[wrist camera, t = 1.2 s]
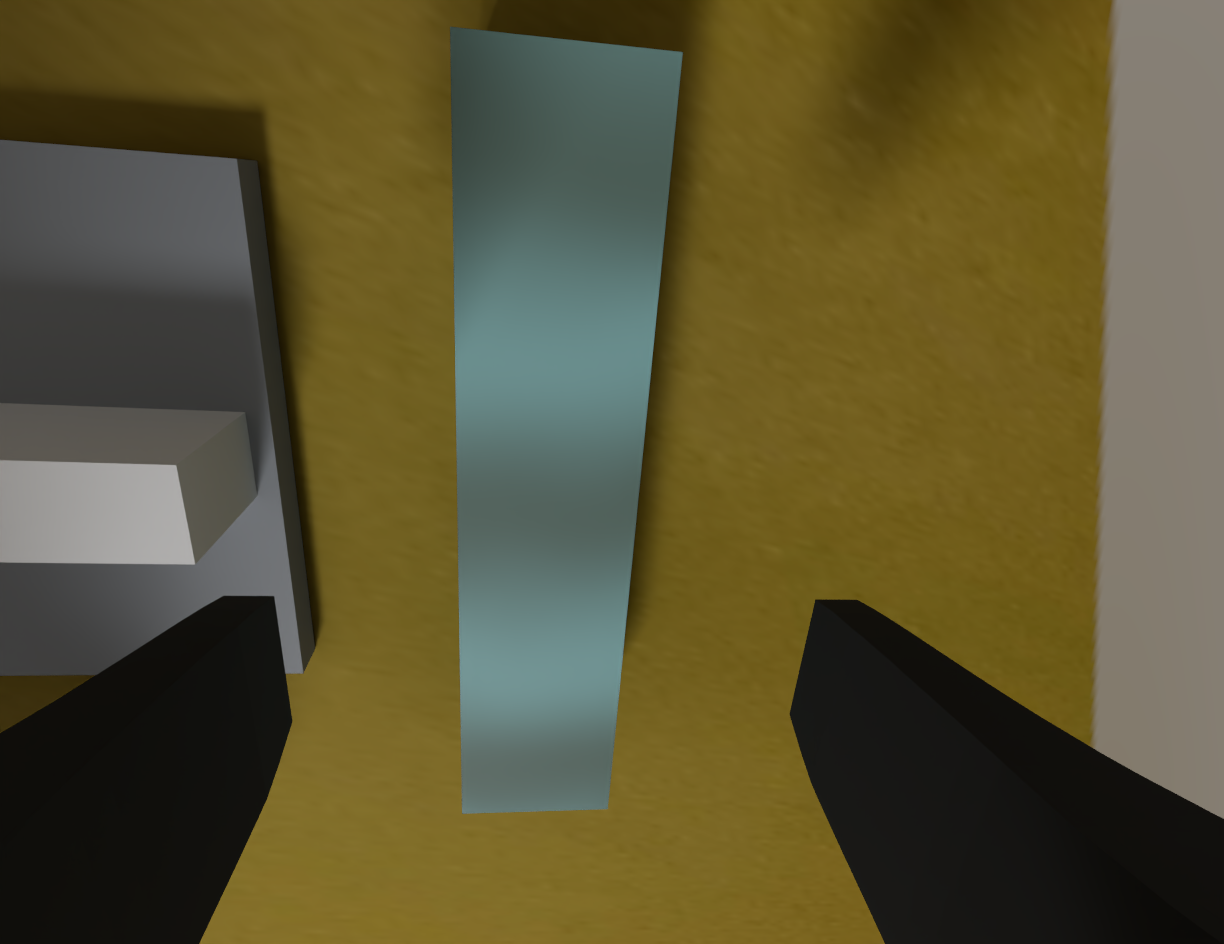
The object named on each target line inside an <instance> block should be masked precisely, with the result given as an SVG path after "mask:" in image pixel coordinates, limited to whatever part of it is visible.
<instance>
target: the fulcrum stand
mask: <svg viewBox="0 0 1224 944" xmlns="http://www.w3.org/2000/svg"><path fill="white" fill-rule="evenodd" d="M222 596H274V598H275V605H276V612H277V619H278V626H279V633H280V639H281V646H282V653H283V660H284V667H285V673H304V671H305V669H306V667H307V665H308V662H309V660H310V658H311V656H312V654H313V652H314V650H315V643H314V635H313V626H312V618H311V609H310V601H309V592H308V584H307V576H306V567H305V559H304V550H303V542H302V533H301V525H300V517H299V508H298V500H297V491H296V483H295V474H294V466H293V458H292V449H291V441H290V432H289V424H288V415H287V407H286V399H285V390H284V382H283V373H282V365H281V356H280V348H279V340H278V331H277V323H276V314H275V306H274V297H273V289H272V281H271V272H270V264H269V255H268V247H267V238H266V230H265V222H264V213H263V205H262V196H261V188H260V179H259V171H258V163H257V161H255V160H244V159H233V158H221V157H208V156H196V155H183V154H171V153H159V152H146V151H134V150H121V149H109V148H96V147H84V146H72V145H59V144H47V143H34V142H22V141H10V140H0V676H25V675H97V674H99V673H100V672H102V671H103V670H105V669H107V668H108V667H110V666H111V665H113V664H114V663H116V662H118V661H119V660H121V659H122V658H124V657H125V656H127V655H129V654H130V653H132V652H133V651H135V650H136V649H138V648H139V647H141V646H143V645H144V644H146V643H147V642H149V641H150V640H152V639H153V638H155V637H157V636H158V635H160V634H161V633H163V632H164V631H166V630H167V629H169V628H171V627H172V626H174V625H175V624H177V623H178V622H180V621H182V620H183V619H185V618H186V617H188V616H190V615H191V614H193V613H194V612H196V611H198V610H199V609H201V608H203V607H204V606H206V605H208V604H209V603H211V602H213V601H215V600H217V599H219V598H220V597H222Z"/></svg>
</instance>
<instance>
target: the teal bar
mask: <svg viewBox="0 0 1224 944" xmlns="http://www.w3.org/2000/svg"><path fill="white" fill-rule="evenodd" d="M450 44H451V110H452V176H453V241H454V307H455V373H456V438H457V504H458V570H459V635H460V701H461V766H462V814H465V813H496V812H528V811H559V810H591V809H608V799H609V789H610V779H611V769H612V759H613V749H614V739H615V729H616V719H617V709H618V699H619V689H620V679H621V669H622V659H623V648H624V638H625V628H626V618H627V608H628V598H629V588H630V578H631V568H632V558H633V548H634V538H635V528H636V518H637V508H638V498H639V488H640V477H641V467H642V457H643V447H644V437H645V427H646V417H647V407H648V397H649V387H650V377H651V367H652V357H653V347H654V337H655V327H656V316H657V306H658V296H659V286H660V276H661V266H662V256H663V246H664V236H665V226H666V216H667V206H668V196H669V186H670V176H671V166H672V156H673V145H674V135H675V125H676V115H677V105H678V95H679V85H680V75H681V65H682V55H683V52H677V51H668V50H659V49H649V48H640V47H631V46H622V45H613V44H603V43H594V42H585V41H576V40H567V39H557V38H548V37H539V36H530V35H521V34H511V33H502V32H493V31H484V30H475V29H465V28H456V27H450Z"/></svg>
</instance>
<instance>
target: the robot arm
mask: <svg viewBox="0 0 1224 944" xmlns="http://www.w3.org/2000/svg"><path fill="white" fill-rule="evenodd" d="M790 717H791V720H792V724H793V727H794V730H795V734H796V737H797V740H798V744H799V747H800V750H801V754H802V757H803V760H804V763H805V766H806V769H807V772H808V775H809V778H810V781H811V783H812V786H813V788H814V790H815V793H816V795H817V797H818V799H819V802H820V804H821V806H822V808H823V810H824V813H825V815H826V817H827V819H828V821H829V824H830V826H831V828H832V830H833V832H834V835H835V837H836V839H837V841H838V843H839V845H840V848H841V850H842V852H843V854H844V856H845V858H846V861H847V863H848V865H849V867H850V869H851V871H852V873H853V876H854V878H855V880H856V882H857V884H858V886H859V888H860V891H861V893H862V895H863V897H864V899H865V901H866V903H867V906H868V908H869V910H870V912H871V914H872V916H873V919H874V921H875V923H876V925H877V927H878V929H879V931H880V934H881V936H882V938H883V940H884V942H885V944H1224V819H1222V818H1221V817H1219V816H1217V815H1215V814H1213V813H1210V812H1209V811H1207V810H1205V809H1203V808H1201V807H1199V806H1198V805H1196V804H1194V803H1192V802H1190V801H1188V800H1186V799H1184V798H1182V797H1181V796H1179V795H1177V794H1175V793H1173V792H1171V791H1169V790H1167V789H1165V788H1163V787H1162V786H1160V785H1158V784H1156V783H1154V782H1152V781H1150V780H1148V779H1147V778H1145V777H1143V776H1141V775H1139V774H1137V773H1135V772H1133V771H1132V770H1130V769H1128V768H1126V767H1125V766H1123V765H1121V764H1119V763H1117V762H1116V761H1114V760H1112V759H1110V758H1109V757H1107V756H1105V755H1103V754H1101V753H1100V752H1098V751H1097V750H1095V749H1093V748H1092V747H1090V746H1088V745H1087V744H1085V743H1083V742H1082V741H1080V740H1078V739H1076V738H1075V737H1073V736H1071V735H1070V734H1068V733H1066V732H1065V731H1063V730H1061V729H1060V728H1058V727H1056V726H1055V725H1053V724H1051V723H1050V722H1048V721H1046V720H1045V719H1043V718H1041V717H1040V716H1038V715H1037V714H1035V713H1033V712H1032V711H1030V710H1029V709H1027V708H1025V707H1024V706H1022V705H1021V704H1019V703H1017V702H1016V701H1014V700H1013V699H1011V698H1010V697H1008V696H1006V695H1005V694H1003V693H1002V692H1000V691H999V690H997V689H996V688H994V687H992V686H991V685H989V684H988V683H986V682H985V681H983V680H982V679H980V678H979V677H977V676H976V675H974V674H972V673H971V672H969V671H968V670H966V669H965V668H963V667H962V666H960V665H959V664H957V663H956V662H954V661H953V660H951V659H950V658H948V657H947V656H945V655H944V654H942V653H941V652H939V651H938V650H936V649H935V648H933V647H932V646H930V645H929V644H927V643H926V642H924V641H923V640H921V639H920V638H918V637H917V636H915V635H914V634H912V633H911V632H909V631H908V630H906V629H904V628H903V627H901V626H900V625H898V624H897V623H895V622H894V621H892V620H891V619H889V618H887V617H886V616H884V615H883V614H881V613H879V612H878V611H876V610H874V609H873V608H871V607H869V606H867V605H865V604H864V603H862V602H860V601H858V600H815V604H814V609H813V613H812V618H811V622H810V626H809V631H808V635H807V640H806V644H805V648H804V653H803V657H802V662H801V666H800V671H799V675H798V679H797V684H796V688H795V693H794V697H793V702H792V706H791V710H790ZM291 724H292V716H291V709H290V702H289V695H288V688H287V681H286V674H285V667H284V660H283V653H282V646H281V639H280V633H279V626H278V619H277V612H276V605H275V598H274V596H222V597H220V598H219V599H217V600H215V601H213V602H211V603H209V604H208V605H206V606H204V607H203V608H201V609H199V610H198V611H196V612H194V613H193V614H191V615H190V616H188V617H186V618H185V619H183V620H182V621H180V622H178V623H177V624H175V625H174V626H172V627H171V628H169V629H167V630H166V631H164V632H163V633H161V634H160V635H158V636H157V637H155V638H153V639H152V640H150V641H149V642H147V643H146V644H144V645H143V646H141V647H139V648H138V649H136V650H135V651H133V652H132V653H130V654H129V655H127V656H125V657H124V658H122V659H121V660H119V661H118V662H116V663H114V664H113V665H111V666H110V667H108V668H107V669H105V670H103V671H102V672H100V673H99V674H97V675H95V676H94V677H92V678H91V679H89V680H88V681H86V682H84V683H83V684H81V685H80V686H78V687H77V688H75V689H73V690H72V691H70V692H69V693H67V694H66V695H64V696H62V697H61V698H59V699H57V700H56V701H54V702H53V703H51V704H49V705H48V706H46V707H44V708H42V709H41V710H39V711H37V712H36V713H34V714H32V715H31V716H29V717H27V718H26V719H24V720H22V721H20V722H19V723H17V724H15V725H14V726H12V727H10V728H9V729H7V730H5V731H4V732H2V733H0V944H199V943H200V941H201V938H202V936H203V934H204V932H205V930H206V928H207V926H208V924H209V922H210V919H211V917H212V915H213V913H214V911H215V909H216V907H217V905H218V903H219V900H220V898H221V896H222V894H223V892H224V890H225V888H226V886H227V884H228V882H229V879H230V877H231V875H232V873H233V871H234V869H235V867H236V865H237V862H238V860H239V858H240V856H241V854H242V852H243V850H244V847H245V845H246V843H247V841H248V839H249V837H250V835H251V832H252V830H253V828H254V826H255V824H256V822H257V819H258V817H259V815H260V813H261V811H262V808H263V806H264V804H265V802H266V800H267V797H268V794H269V791H270V788H271V785H272V783H273V780H274V777H275V774H276V771H277V768H278V765H279V762H280V759H281V756H282V752H283V749H284V746H285V743H286V740H287V737H288V733H289V730H290V727H291Z"/></svg>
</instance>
